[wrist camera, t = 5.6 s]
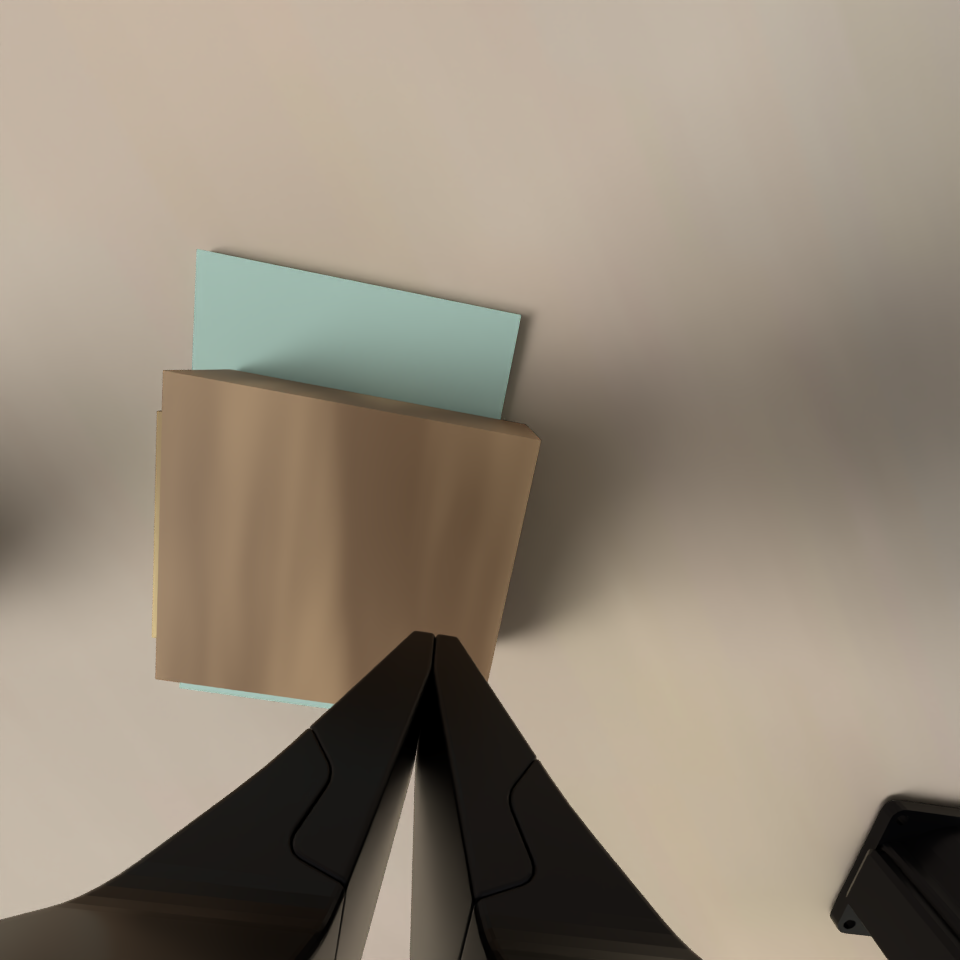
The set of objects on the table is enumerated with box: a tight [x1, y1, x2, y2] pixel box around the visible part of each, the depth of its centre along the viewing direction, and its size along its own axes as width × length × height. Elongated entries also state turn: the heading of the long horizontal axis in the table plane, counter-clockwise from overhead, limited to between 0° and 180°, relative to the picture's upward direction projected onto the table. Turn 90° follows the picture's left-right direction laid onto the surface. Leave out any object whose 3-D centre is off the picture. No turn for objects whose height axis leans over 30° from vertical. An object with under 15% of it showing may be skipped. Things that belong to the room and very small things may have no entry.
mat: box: [180, 249, 521, 709], centre depth 15 cm, size 9×14×1 cm, turn 169°
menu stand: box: [152, 369, 541, 704], centre depth 13 cm, size 3×8×9 cm
